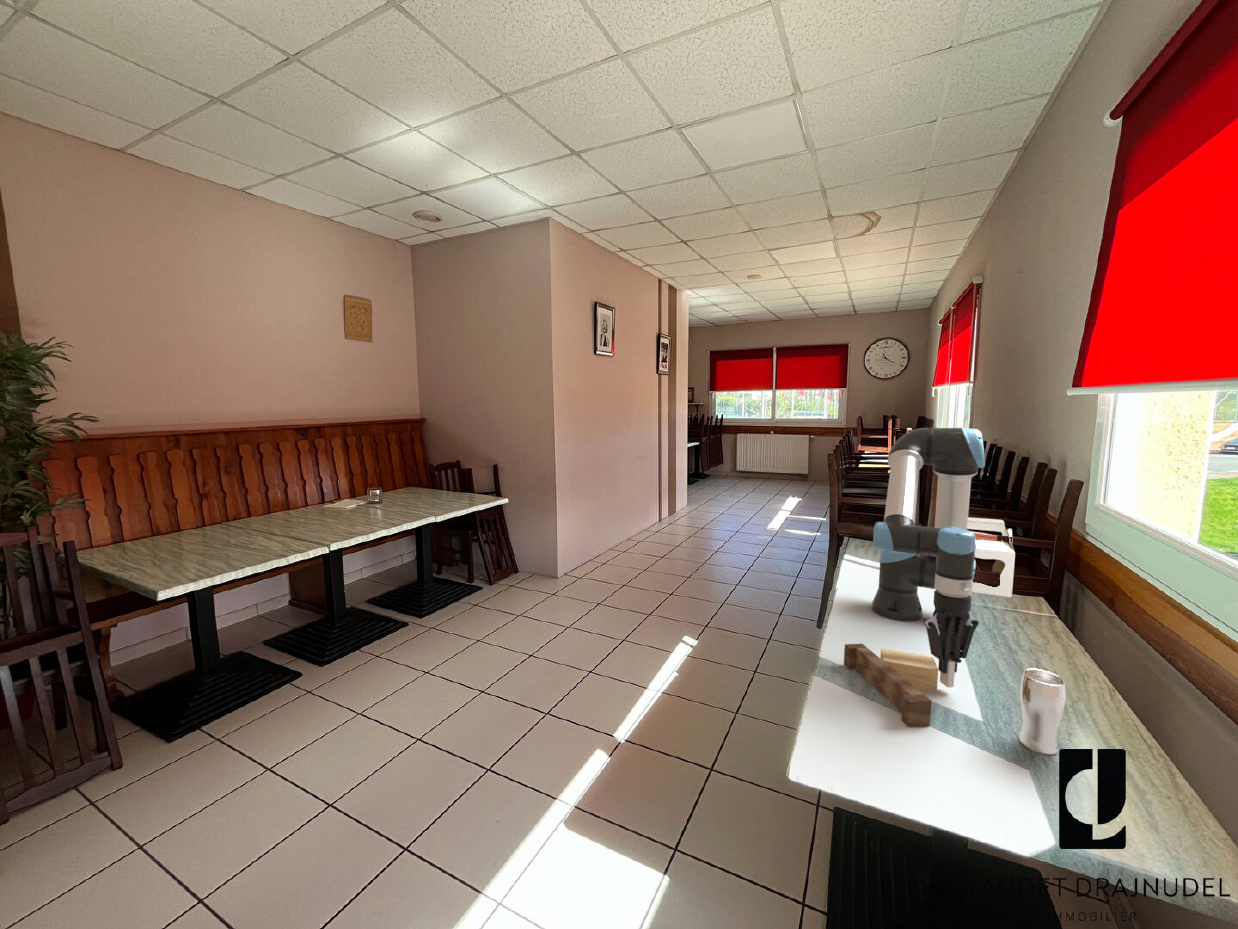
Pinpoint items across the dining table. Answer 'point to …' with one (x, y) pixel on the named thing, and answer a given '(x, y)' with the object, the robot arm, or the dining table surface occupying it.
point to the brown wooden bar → (890, 685)
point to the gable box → (995, 556)
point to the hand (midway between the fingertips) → (946, 684)
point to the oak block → (913, 668)
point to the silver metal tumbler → (1041, 709)
